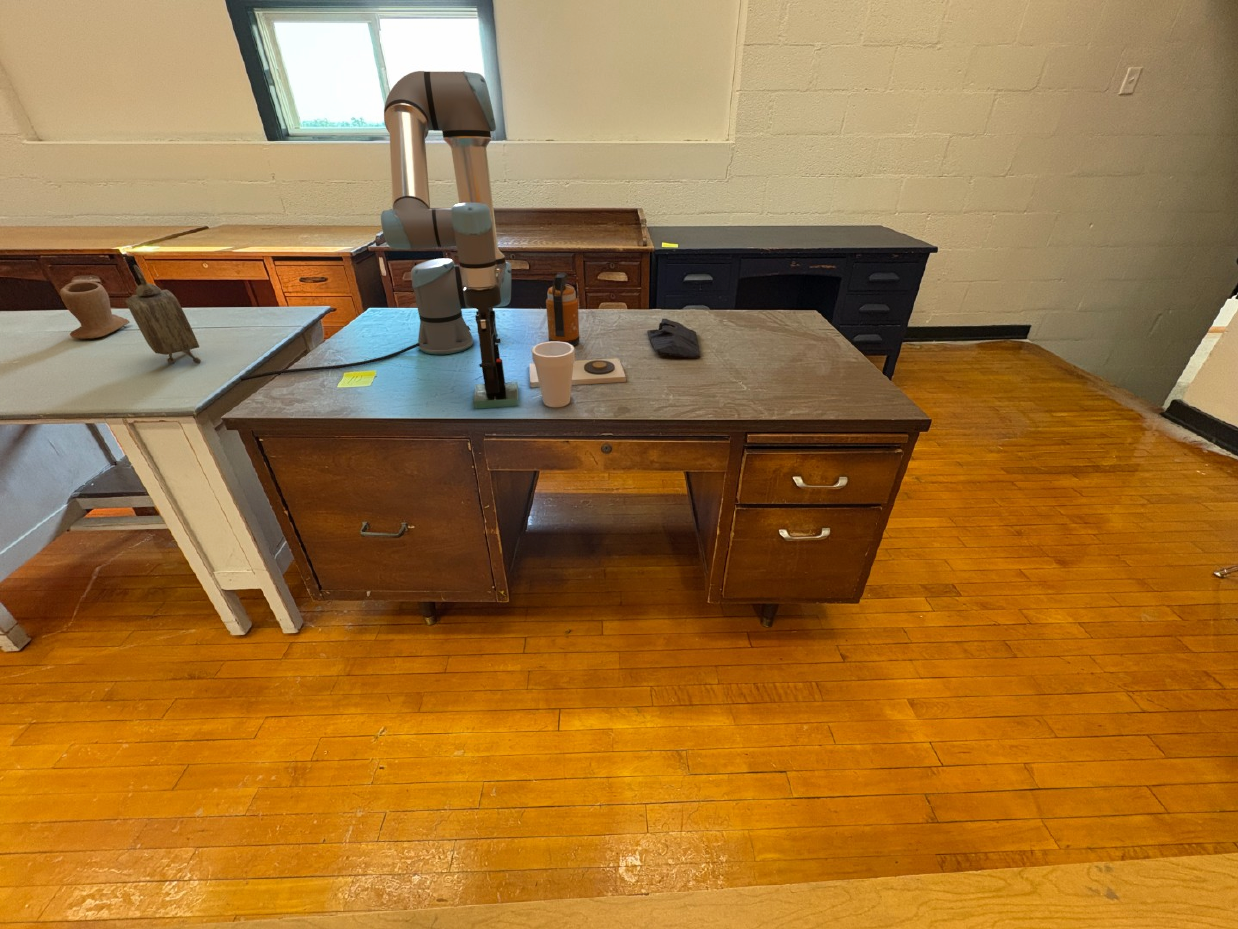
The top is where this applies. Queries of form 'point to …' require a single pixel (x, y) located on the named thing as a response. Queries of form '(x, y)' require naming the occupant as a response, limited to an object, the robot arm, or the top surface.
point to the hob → (589, 372)
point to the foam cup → (554, 371)
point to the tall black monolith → (500, 375)
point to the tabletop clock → (161, 320)
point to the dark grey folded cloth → (674, 340)
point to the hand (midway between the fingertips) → (494, 381)
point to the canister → (562, 311)
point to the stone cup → (91, 309)
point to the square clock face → (496, 397)
